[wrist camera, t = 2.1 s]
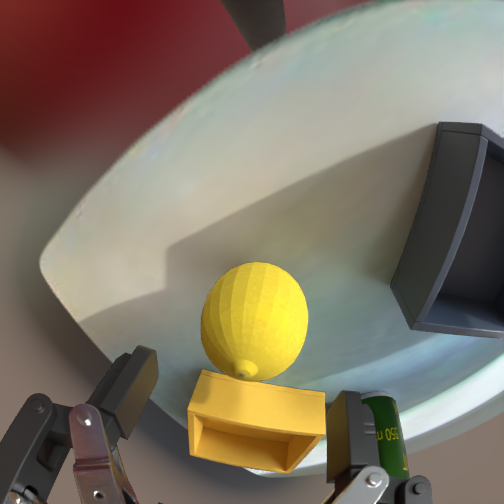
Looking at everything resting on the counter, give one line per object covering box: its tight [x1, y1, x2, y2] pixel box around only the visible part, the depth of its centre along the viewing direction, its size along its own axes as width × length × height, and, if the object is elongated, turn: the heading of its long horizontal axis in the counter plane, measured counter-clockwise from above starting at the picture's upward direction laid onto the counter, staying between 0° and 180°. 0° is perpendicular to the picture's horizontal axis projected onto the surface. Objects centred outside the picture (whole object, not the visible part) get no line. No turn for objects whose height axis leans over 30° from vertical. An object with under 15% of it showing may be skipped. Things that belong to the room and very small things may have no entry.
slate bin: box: [390, 122, 504, 339], centre depth 12 cm, size 11×11×5 cm
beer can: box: [361, 391, 410, 480], centre depth 17 cm, size 5×5×12 cm
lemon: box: [201, 262, 308, 382], centre depth 14 cm, size 6×6×8 cm
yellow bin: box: [187, 369, 326, 473], centre depth 23 cm, size 11×11×5 cm
